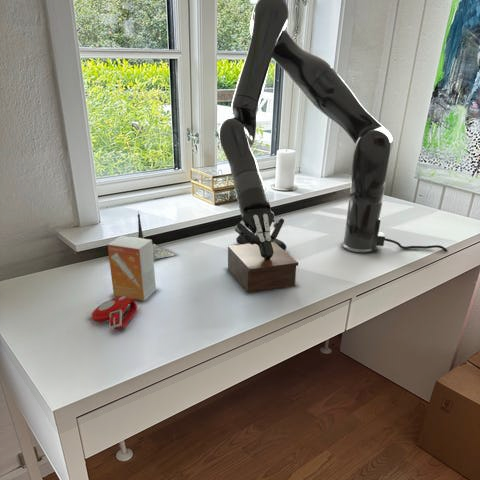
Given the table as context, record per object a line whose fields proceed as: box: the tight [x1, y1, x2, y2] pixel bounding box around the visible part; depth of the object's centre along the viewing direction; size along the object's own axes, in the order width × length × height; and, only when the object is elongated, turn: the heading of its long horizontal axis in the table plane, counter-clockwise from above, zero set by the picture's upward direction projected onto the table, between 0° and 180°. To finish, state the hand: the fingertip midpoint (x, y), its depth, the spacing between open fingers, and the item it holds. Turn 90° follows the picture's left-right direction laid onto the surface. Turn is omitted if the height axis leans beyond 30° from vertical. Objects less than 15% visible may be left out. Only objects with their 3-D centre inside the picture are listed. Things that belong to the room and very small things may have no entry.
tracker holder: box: [91, 296, 138, 331], centre depth 100 cm, size 12×4×10 cm
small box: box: [107, 235, 157, 302], centre depth 108 cm, size 8×6×13 cm
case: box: [227, 248, 297, 294], centre depth 119 cm, size 15×13×6 cm
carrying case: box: [235, 234, 288, 252], centre depth 137 cm, size 11×3×15 cm
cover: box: [227, 241, 299, 272], centre depth 117 cm, size 16×13×1 cm
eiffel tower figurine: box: [137, 210, 175, 261], centre depth 128 cm, size 15×10×13 cm
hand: (268, 257), depth 113 cm, fingers closed
